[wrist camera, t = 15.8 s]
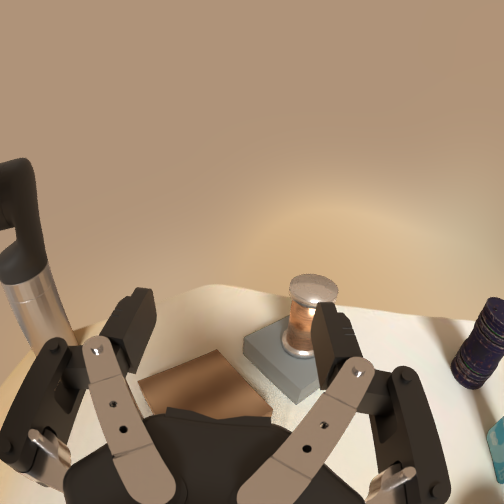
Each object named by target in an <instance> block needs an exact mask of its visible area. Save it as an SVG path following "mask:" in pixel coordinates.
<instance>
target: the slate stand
mask: <svg viewBox="0 0 504 504" xmlns="http://www.w3.org/2000/svg"><path fill="white" fill-rule="evenodd" d="M289 317H290V315H289V316H287V317H285V318H283V319H281V320H279V321H277V322H275V323H273V324H271V325H268V326H266V327H264V328H262V329H260V330H258V331H256V332H254V333H252V334H250V335H248V336H245V337H244V346H243V354H244V355H245V356H246V357H247V358H248V359H249V360H250V361H251V362H252V363H253V364H254V365H255V366H256V367H257V368H258V369H259V370H260V371H261V372H262V373H263V374H264V375H265V376H266V377H267V378H268V379H269V380H270V381H271V382H272V383H273V384H274V385H275V386H276V387H277V388H278V389H280V390H281V391H282V392H283V393H284V394H285V395H286V396H287V397H288V398H289V399H290V400H291V401H292V402H294V403H295V404H296V405H297V404H298V403H300V402H301V401H302V400H304V399H305V398H306V397H308V396H309V395H311V394H312V393H313V392H315V391H316V390H317V389H318V388H320V384H319V379H318V373H317V368H316V362H315V357H314V358H311V359H305V360H304V359H297V358H294V357H291V356H290V355H288V354H287V353H286V352H285V351H284V350H283V348H282V345H281V341H282V335H283V333H284V331H285V330H286V329H288V323H289Z"/></svg>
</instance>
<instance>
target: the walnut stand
mask: <svg viewBox="0 0 504 504" xmlns="http://www.w3.org/2000/svg"><path fill="white" fill-rule="evenodd" d="M138 384H139V386H140V388H141V391H142V393H143V396H144V398H145V400H146V401H147V403H148V405H149V407H150V409H151V411H152V413H153V414H154V415H156V414H161V413H166V409H167V407H172V408H178V409H184V410H191V411H194V412H197V413H200V414H203V415H205V416H208V417H211V418H214V419H226V418H233V417H240V416H262V417H271V416H272V412H273V409H272V408H271V407H270V406H269V405H268V404H267V403H266V402H265V401H264V400H263V399H262V398H261V397H260V395H259V394H258V393H257V392H256V391H255V390H254V389H253V388H252V387H251V386H250V385H249V384H248V383H247V382H246V381H245V380H244V379H243V378H242V377H241V376H240V374H239V373H238V372H237V371H236V370H235V369H234V368H233V367H232V366H231V365H230V363H229V362H228V361H227V360H226V359H225V358H224V357H223V356H222V354H221V353H220V352H219V351H218V350H214V351H212V352H210V353H208V354H205V355H203V356H200V357H198V358H196V359H193V360H191V361H188V362H186V363H184V364H181V365H179V366H176V367H174V368H171V369H169V370H166V371H163V372H161V373H158V374H155V375H153V376H150V377H147V378H145V379H142V380H139V381H138Z"/></svg>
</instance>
